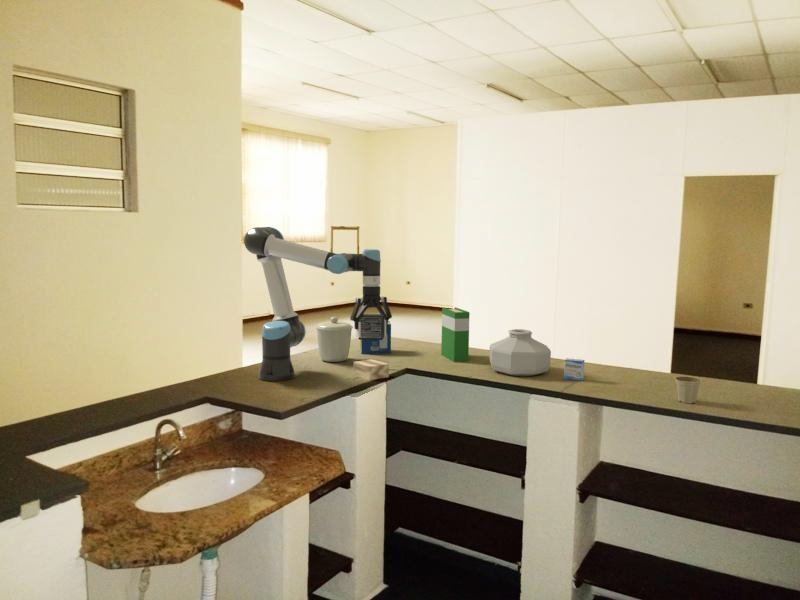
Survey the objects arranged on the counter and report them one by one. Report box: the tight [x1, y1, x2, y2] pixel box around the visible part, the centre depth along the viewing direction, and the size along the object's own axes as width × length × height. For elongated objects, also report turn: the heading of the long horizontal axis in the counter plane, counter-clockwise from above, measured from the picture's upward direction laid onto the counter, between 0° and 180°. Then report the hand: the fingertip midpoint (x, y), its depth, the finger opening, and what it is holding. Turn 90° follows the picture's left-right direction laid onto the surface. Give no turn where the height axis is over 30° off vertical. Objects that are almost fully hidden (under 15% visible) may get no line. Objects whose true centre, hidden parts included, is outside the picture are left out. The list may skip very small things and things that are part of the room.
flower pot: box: [674, 375, 702, 404], centre depth 246 cm, size 9×9×9 cm
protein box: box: [359, 320, 392, 355], centre depth 334 cm, size 10×15×16 cm
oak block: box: [353, 358, 390, 381], centre depth 282 cm, size 10×12×6 cm
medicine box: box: [563, 358, 585, 382], centre depth 280 cm, size 8×4×9 cm, turn 68°
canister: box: [314, 316, 354, 363], centre depth 312 cm, size 18×18×21 cm
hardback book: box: [440, 306, 471, 363], centre depth 320 cm, size 18×7×24 cm, turn 17°
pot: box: [489, 328, 552, 377], centre depth 294 cm, size 28×28×19 cm
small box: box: [358, 313, 384, 341], centre depth 280 cm, size 11×6×10 cm, turn 84°
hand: (371, 335), depth 280 cm, fingers closed on small box, 12 cm apart
